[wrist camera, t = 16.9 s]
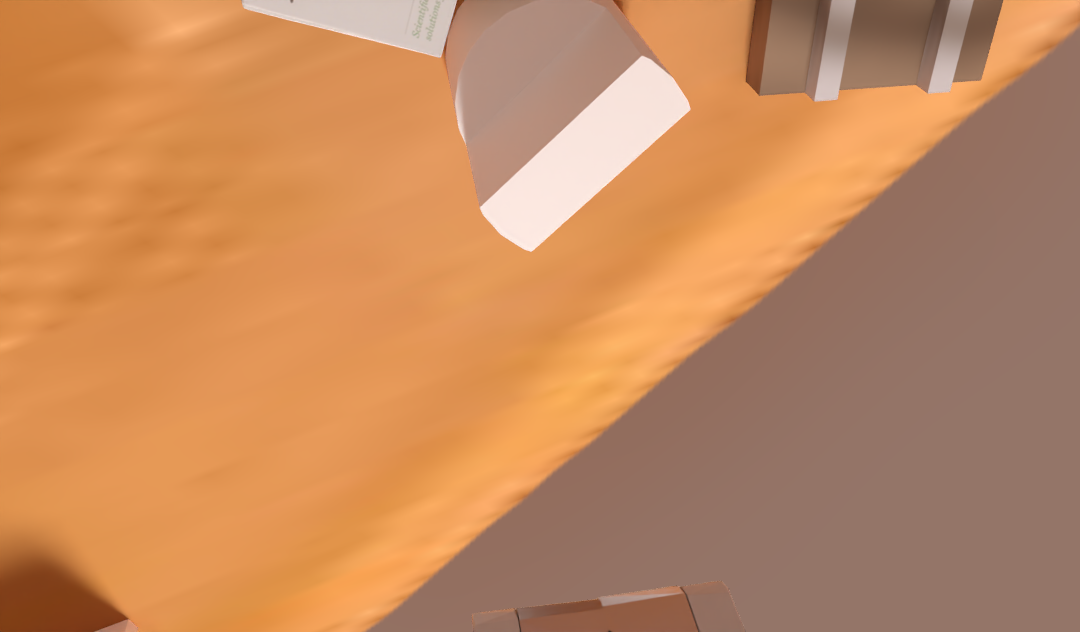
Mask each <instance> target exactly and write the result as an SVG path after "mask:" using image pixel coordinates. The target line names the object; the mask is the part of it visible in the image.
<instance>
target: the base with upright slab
mask: <svg viewBox="0 0 1080 632" xmlns="http://www.w3.org/2000/svg"><path fill="white" fill-rule="evenodd" d="M445 59H446V65H447V72H448V78H449V84H450V88H451V93H452V98H453V103H454V108H455V113H456V117H457V122H458V127H459V130H460V132H461V135H462V137H463V139H464V141H465V143H466V146H467V151H468V156H469V160H470V165H471V169H472V174H473V179H474V183H475V188H476V193H477V197H478V202H479V207H480V209H481V211H482V213H483V215H484V216H485V218H486V219H487V220H488V221H489V222H490V223H491V224H492V225H493V226H494V228H495V229H496V230H497V231H498V232H499V233H500V234H501V235H502V236H504V237H505V238H507V239H508V240H510V241H511V242H513V243H515V244H516V245H518V246H519V247H521V248H522V249H525V250H528V251H531V252H532V251H533V250H534V249H535V248H536V247H537V246H538V245H540V244H541V243H542V242H543V241H544V240H545V239H546V238H547V237H549V236H550V235H551V234H552V233H553V232H554V231H555V230H556V229H557V228H559V227H560V226H561V225H562V224H563V223H564V222H565V221H566V220H568V219H569V218H570V217H571V216H572V215H573V214H574V213H575V212H576V211H578V210H579V209H580V208H581V207H582V206H583V205H584V204H585V203H587V202H588V201H589V200H590V199H591V198H592V197H593V196H594V195H595V194H597V193H598V192H599V191H600V190H601V189H602V188H603V187H604V186H606V185H607V184H608V183H609V182H610V181H611V180H612V179H613V178H614V177H616V176H617V175H618V174H619V173H620V172H621V171H622V170H623V169H625V168H626V167H627V166H628V165H629V164H630V163H631V162H632V161H633V160H635V159H636V158H637V157H638V156H639V155H640V154H641V153H642V152H644V151H645V150H646V149H647V148H648V147H649V146H650V145H651V144H652V143H654V142H655V141H656V140H657V139H658V138H659V137H660V136H661V135H663V134H664V133H665V132H666V131H667V130H668V129H669V128H670V127H671V126H673V125H674V124H675V123H676V122H677V121H678V120H679V119H680V118H682V117H683V116H684V115H685V114H686V113H687V112H688V111H689V110H690V106H689V103H688V100H687V99H686V97H685V96H684V94H683V93H682V91H681V90H680V88H679V86H678V85H677V83H676V82H675V80H674V79H673V77H672V76H671V75H670V73H669V72H668V71H667V70H666V68H665V67H664V66H663V64H662V63H661V62H660V61H659V59H658V58H657V57H656V55H655V54H654V53H653V52H652V50H651V49H650V48H649V46H648V45H647V44H646V42H645V41H644V40H643V39H642V37H641V36H640V35H639V33H638V32H637V31H636V30H635V28H634V27H633V26H632V24H631V23H630V22H629V21H628V19H627V18H626V17H625V15H624V14H623V13H622V12H621V10H620V9H619V8H618V6H617V5H616V4H615V3H614V1H613V0H464V2H463V3H462V4H461V6H460V7H459V9H458V10H457V12H456V14H455V17H454V19H453V22H452V25H451V27H450V30H449V32H448V38H447V47H446V56H445Z"/></svg>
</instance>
